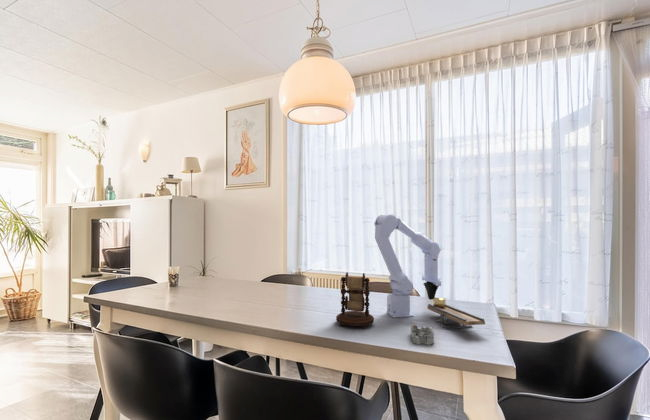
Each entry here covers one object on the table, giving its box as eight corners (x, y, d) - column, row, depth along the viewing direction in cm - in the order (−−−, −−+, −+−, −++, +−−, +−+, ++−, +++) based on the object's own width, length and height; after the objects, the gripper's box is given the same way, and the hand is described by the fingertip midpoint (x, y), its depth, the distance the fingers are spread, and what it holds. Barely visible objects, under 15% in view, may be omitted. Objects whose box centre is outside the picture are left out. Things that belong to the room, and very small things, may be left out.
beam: (463, 325, 112) (463, 319, 112) (427, 308, 139) (427, 304, 139) (485, 324, 113) (484, 318, 113) (444, 308, 140) (444, 303, 140)
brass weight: (436, 308, 134) (436, 299, 134) (431, 306, 139) (431, 297, 139) (448, 308, 135) (447, 299, 135) (442, 305, 140) (441, 297, 140)
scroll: (375, 319, 132) (375, 270, 133) (371, 331, 118) (371, 276, 118) (340, 317, 136) (340, 269, 136) (332, 328, 121) (332, 274, 122)
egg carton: (410, 333, 116) (410, 322, 117) (432, 335, 115) (432, 323, 115) (410, 344, 106) (410, 331, 106) (434, 346, 104) (434, 333, 104)
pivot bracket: (445, 328, 121) (445, 316, 121) (435, 322, 129) (435, 311, 129) (472, 327, 123) (472, 315, 123) (460, 321, 130) (460, 310, 131)
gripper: (447, 270, 138) (448, 302, 138) (432, 266, 153) (432, 295, 152) (432, 271, 137) (432, 303, 137) (417, 266, 152) (418, 295, 151)
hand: (431, 299), depth 144 cm, fingers closed
